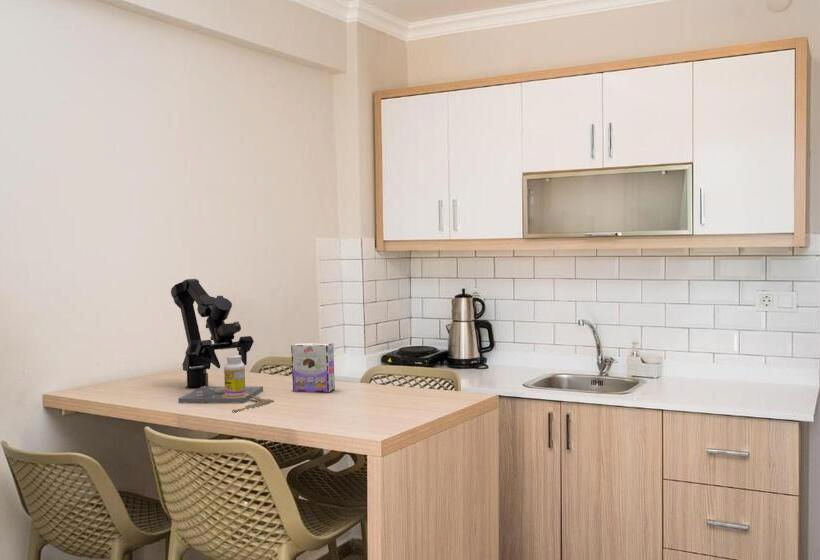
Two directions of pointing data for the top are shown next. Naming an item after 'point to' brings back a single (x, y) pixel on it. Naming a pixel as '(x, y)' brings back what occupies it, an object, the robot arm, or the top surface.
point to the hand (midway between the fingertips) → (232, 366)
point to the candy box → (313, 367)
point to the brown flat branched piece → (259, 403)
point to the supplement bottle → (234, 376)
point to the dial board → (218, 395)
